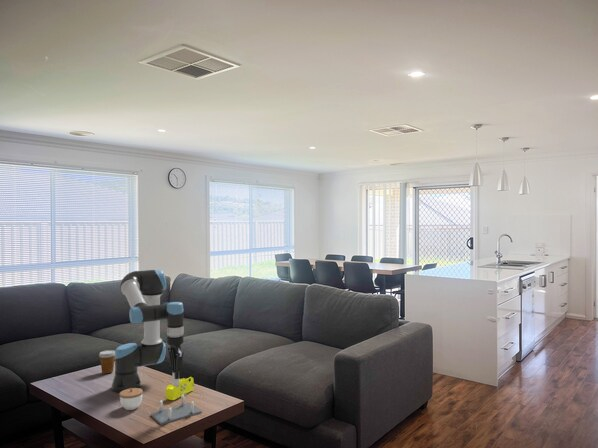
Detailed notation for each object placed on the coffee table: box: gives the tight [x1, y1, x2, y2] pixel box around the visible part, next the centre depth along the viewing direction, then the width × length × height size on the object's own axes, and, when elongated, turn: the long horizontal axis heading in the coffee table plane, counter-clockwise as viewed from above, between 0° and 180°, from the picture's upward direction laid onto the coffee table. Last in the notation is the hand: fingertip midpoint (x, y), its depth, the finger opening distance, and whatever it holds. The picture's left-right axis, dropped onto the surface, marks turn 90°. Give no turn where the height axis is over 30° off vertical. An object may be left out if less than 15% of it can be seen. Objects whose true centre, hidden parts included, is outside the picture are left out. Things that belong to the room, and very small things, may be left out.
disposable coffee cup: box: [98, 349, 115, 374], centre depth 275 cm, size 10×10×12 cm
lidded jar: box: [119, 387, 144, 411], centre depth 222 cm, size 11×11×9 cm
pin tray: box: [150, 395, 203, 426], centre depth 213 cm, size 13×20×6 cm, turn 128°
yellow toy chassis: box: [165, 376, 195, 401], centre depth 237 cm, size 16×6×8 cm, turn 154°
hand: (175, 385), depth 213 cm, fingers closed
